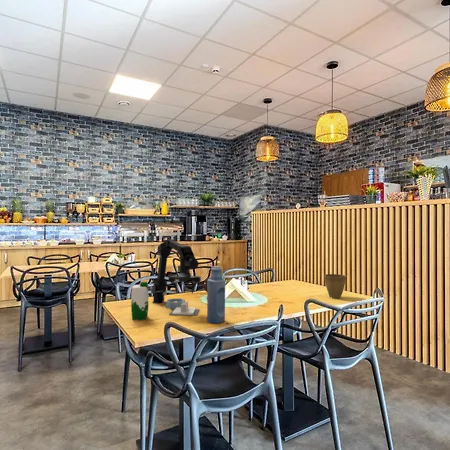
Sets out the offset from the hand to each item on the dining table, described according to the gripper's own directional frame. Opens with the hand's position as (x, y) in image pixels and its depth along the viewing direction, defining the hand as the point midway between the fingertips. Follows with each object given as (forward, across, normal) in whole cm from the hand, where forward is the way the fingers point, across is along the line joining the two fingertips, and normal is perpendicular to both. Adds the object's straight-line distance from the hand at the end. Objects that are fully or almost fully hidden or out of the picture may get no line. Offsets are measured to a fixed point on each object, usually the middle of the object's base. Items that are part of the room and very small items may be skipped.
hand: (184, 293), depth 199 cm
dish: (+11, -8, +13) cm, 19 cm away
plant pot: (+12, +101, +47) cm, 112 cm away
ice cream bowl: (+12, +12, +37) cm, 41 cm away
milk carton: (+12, -23, -13) cm, 29 cm away
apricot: (+9, -8, +13) cm, 18 cm away
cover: (+11, 0, 0) cm, 11 cm away
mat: (+11, 0, 0) cm, 11 cm away
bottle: (+12, +20, -16) cm, 28 cm away
